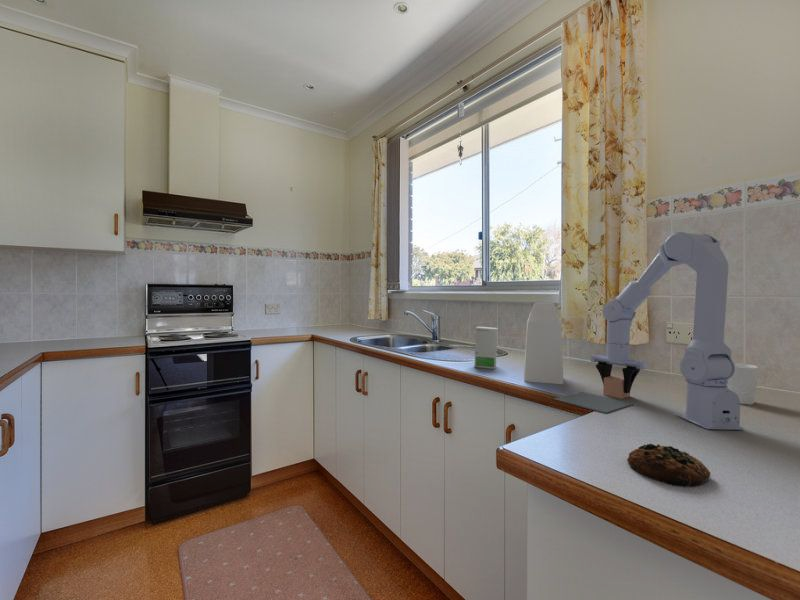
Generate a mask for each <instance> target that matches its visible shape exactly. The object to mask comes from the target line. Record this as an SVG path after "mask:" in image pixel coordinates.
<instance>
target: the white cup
mask: <svg viewBox="0 0 800 600" xmlns="http://www.w3.org/2000/svg"><path fill="white" fill-rule="evenodd" d="M734 365H735V373H734V375H733V376H732V377H731V378H729V379H728V384H727V387H728V388H729V389H730V390H731V391H733V392H735V393H736V394H737V395H738V397H739V399H740V405H754V404H755V401H756V400H755V399H756V393H757V386H758V377H759V376H758V375H759V374H758V373H759V367H758V366H757V365H753V364H748V363H747V364H746V363H738V362H734Z"/></svg>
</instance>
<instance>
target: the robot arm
mask: <svg viewBox="0 0 800 600" xmlns="http://www.w3.org/2000/svg"><path fill="white" fill-rule="evenodd" d="M684 264H685V265H687V266H688V267H689V268H691V269H692V270H693V271H695V272H696V282H695V283H696V284H695V297H694V298H695V301H694V315H693V332H692V340H691V341H690V342H689V344H688V345H687V346H685V349H684V355H683V357H682V359H681V360H680V362H679V371H680V373H681V375H682V376H683V377H684V379H685V382H686V396H685V397H686V400H685V401H686V402H685V413H680V412H679V413H678V412H677V413H676V416H677V417H679V418H681V419H683V420H686V421H688V422H690V423H693V424H695V425H697V426H699V427H702V428H704V429H706V430H729V431H730V430H733V431H736V430H738V431H743V430H744V427H742V426H741V425H740V421H741V420H740V419H741V404H740V399H739V397H738V395H737V394H736V393H735V392H733V391H731V390H730V389H729V388H728V387H727V384H728V379H729V378H731V377H732V376H733V375H734V373H735V365H734V363H735V362H734V361H733V358H732V349H731V348H729V346H728V345H727V344H726V343H725V341H724V340H725V339H724V338H725V327H726V326H725V324H726V310H727V295H728V281H729V278H728V277H729V267H730V266H729V262H728V260H727V257H726V256H725V254H724V252H723V250H722V248H721V241H720V240H719V239H718V238H717V239H716V238H715V237H713V236H712V235H709V234H707V233H705V234H704V233H701V234H700V233H691V232H690V233H689V232H688V233H687V232H684V231H683V232H682V231H676V232H674V233H673V232H672V234H670V235H669V236H667V238H666V239H665V242H662V243H661V245H660V246H659V251H658V254H656V256H655V257H654V258H653V260H652V261H651V262H650V264H649V265H648V267H646V269H645V270H644V272H643V273H642V274H641V275H640V277H639V278H638V279H637V280H632V281H630V282H627V283H626V284H625V285H624V286H625V287H624V289H623V290H622V291H621V292H620V293H619V294H618V295H616V296H615V298H614V299H613V300H609V301H607V302H605V303H604V305H603V307H602V316H603V318H604V319H605V320H606V322H607V323H606V349H605V351H606V355H599V354H591V355H590V362H592V363H597V364H596V365H595V368H596V369H597V371H598V373H599V375H600V379H601V381H602V384H603V385H602V386H603V387H604V377H608V376H612V369H613V366H619V367H622V369H621V370H622V377H623V378H624V393H630V394H631V390H632V386H633V383H634V381H635V379H636V378H637V376H638V374H639V373H640V371H645V370H648V369H647V367H648V365H647V364H648V362H646V361H640V360H635V359H631V358H630V341H631V340H630V339H631V338H630V336H631V327H632V322H633V320H634V319H635V318H636V313H637V312H636V310H637V309H638V308H640V306H641V305H642V304H643V303H644V302H645V300H646V299H648V298H649V296H650V295H651V288H652V287H653V286H654V285H655V284H656V283H657V282H658V281H659V280H660V279H661V278H662V277H663V276H664V275H665V274H666V273H667V272H668V271H670V269H672V268H673V267H675V266H676V267H677V266H681V265H684Z"/></svg>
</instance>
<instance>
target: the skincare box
mask: <svg viewBox="0 0 800 600" xmlns="http://www.w3.org/2000/svg"><path fill="white" fill-rule="evenodd" d="M498 329H499V328H498V327H491V326H490V327H487V326H476V327H475V347H474V365H473V366H474V368H480V369H493V370H496V367H497V354H498V353H497V351H498V349H497V348H498V334H499V333H498Z"/></svg>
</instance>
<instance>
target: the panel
mask: <svg viewBox="0 0 800 600" xmlns="http://www.w3.org/2000/svg"><path fill="white" fill-rule="evenodd" d="M553 400H554V401H556V402H560V403H565V404H569V405H572V406H576V407H579V408H583V409H587V410H590V411H595V412H597V413H602V414H604V415H605V414H609V413H612V412H615V411H618V410H622V409H624V408H628V407H631V406H634V403H632V402H628V401H623V400H619V399H617V398H616V399H615V398H612V397H608V396H607V397H606V396H604V395H603V396H602V395H597V394H593V393H589V392H585V391H581V392H576V393H572V394H567V395H564V396H560V397H555V398H553Z"/></svg>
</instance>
